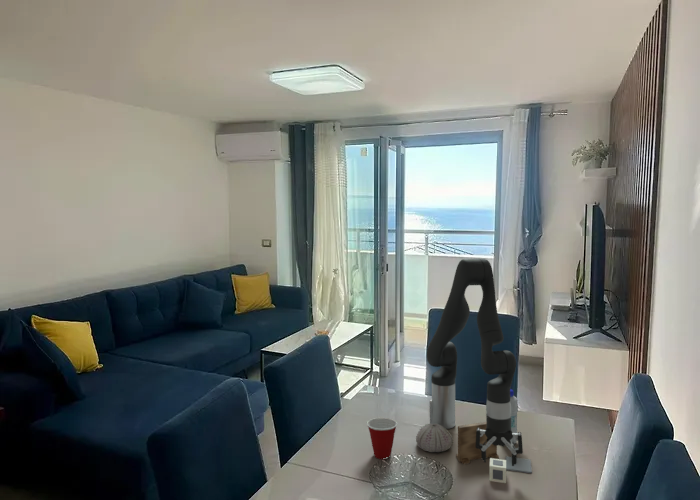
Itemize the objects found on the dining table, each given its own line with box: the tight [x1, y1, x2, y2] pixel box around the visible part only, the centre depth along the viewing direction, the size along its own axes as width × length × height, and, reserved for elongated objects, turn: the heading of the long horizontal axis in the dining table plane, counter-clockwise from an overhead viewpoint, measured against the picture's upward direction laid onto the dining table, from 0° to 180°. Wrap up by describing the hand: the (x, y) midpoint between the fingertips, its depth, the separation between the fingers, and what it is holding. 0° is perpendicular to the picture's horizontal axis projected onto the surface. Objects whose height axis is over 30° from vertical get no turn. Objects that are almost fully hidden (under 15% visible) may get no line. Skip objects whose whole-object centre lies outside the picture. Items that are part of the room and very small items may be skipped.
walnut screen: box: [455, 421, 500, 465], centre depth 164 cm, size 14×5×12 cm, turn 104°
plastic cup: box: [366, 417, 398, 460], centre depth 168 cm, size 11×11×12 cm
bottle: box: [510, 388, 519, 445], centre depth 175 cm, size 7×7×20 cm
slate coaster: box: [505, 455, 533, 474], centre depth 159 cm, size 8×8×1 cm
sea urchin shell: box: [415, 423, 454, 453], centre depth 173 cm, size 13×14×8 cm
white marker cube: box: [489, 457, 507, 484], centre depth 152 cm, size 5×5×5 cm
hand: (498, 463), depth 152 cm, fingers open, 8 cm apart
